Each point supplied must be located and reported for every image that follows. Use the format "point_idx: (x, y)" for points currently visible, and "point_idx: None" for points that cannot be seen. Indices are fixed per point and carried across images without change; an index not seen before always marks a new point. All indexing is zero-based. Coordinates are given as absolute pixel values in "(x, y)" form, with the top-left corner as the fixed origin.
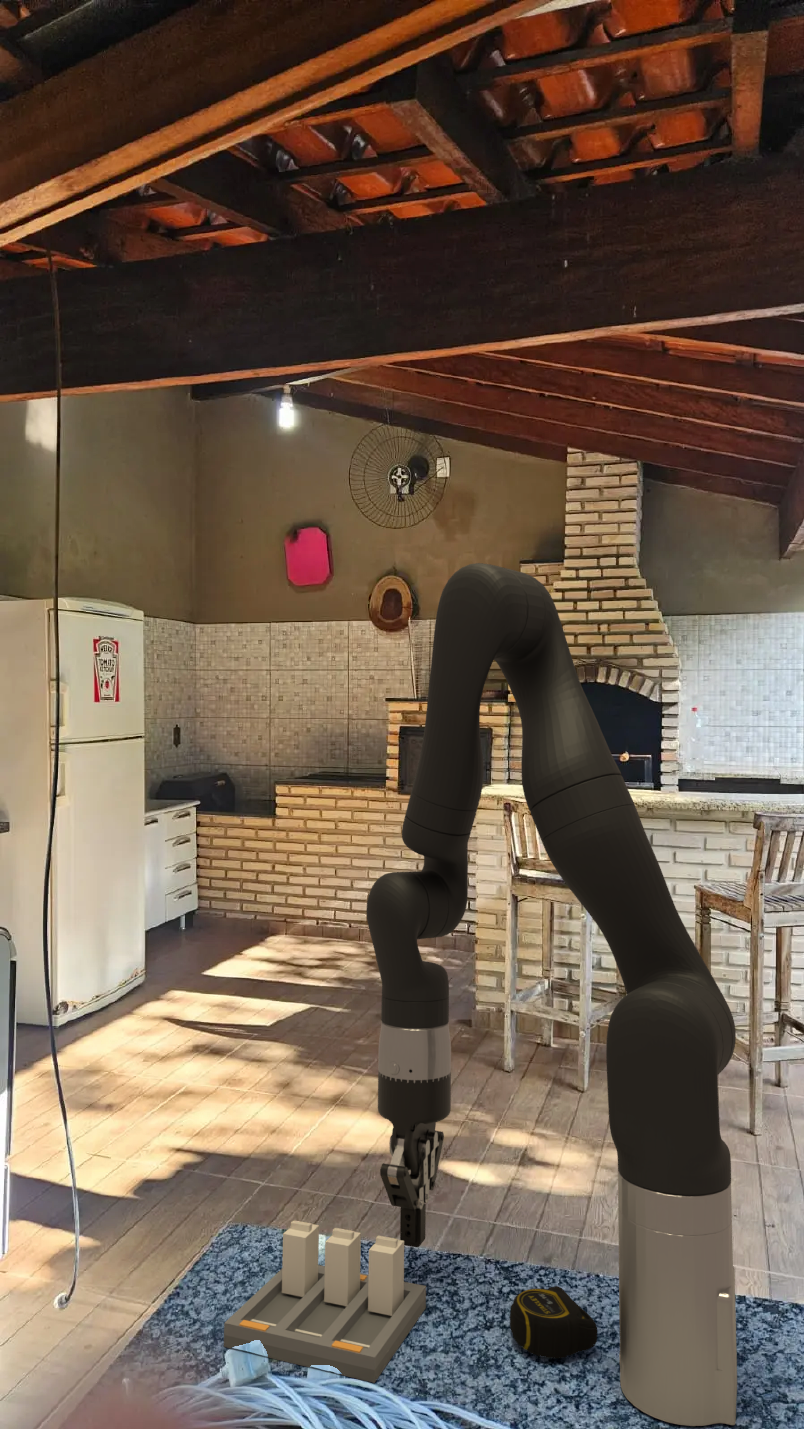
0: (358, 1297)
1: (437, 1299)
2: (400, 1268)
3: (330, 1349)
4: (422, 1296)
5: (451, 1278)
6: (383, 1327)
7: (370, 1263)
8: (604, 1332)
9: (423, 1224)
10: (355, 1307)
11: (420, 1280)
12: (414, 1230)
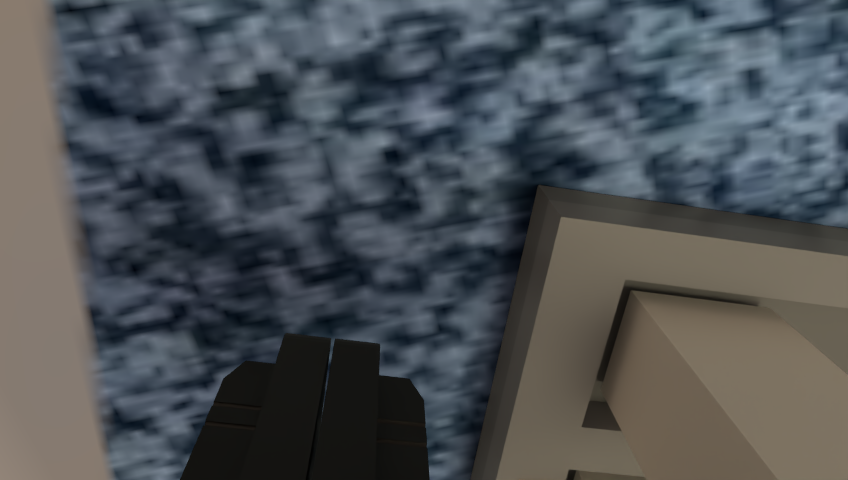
0: None
1: (447, 146)
2: (755, 389)
3: None
4: (605, 214)
5: (220, 114)
6: (825, 319)
7: None
8: None
9: (315, 401)
10: None
11: (289, 254)
12: (422, 436)
